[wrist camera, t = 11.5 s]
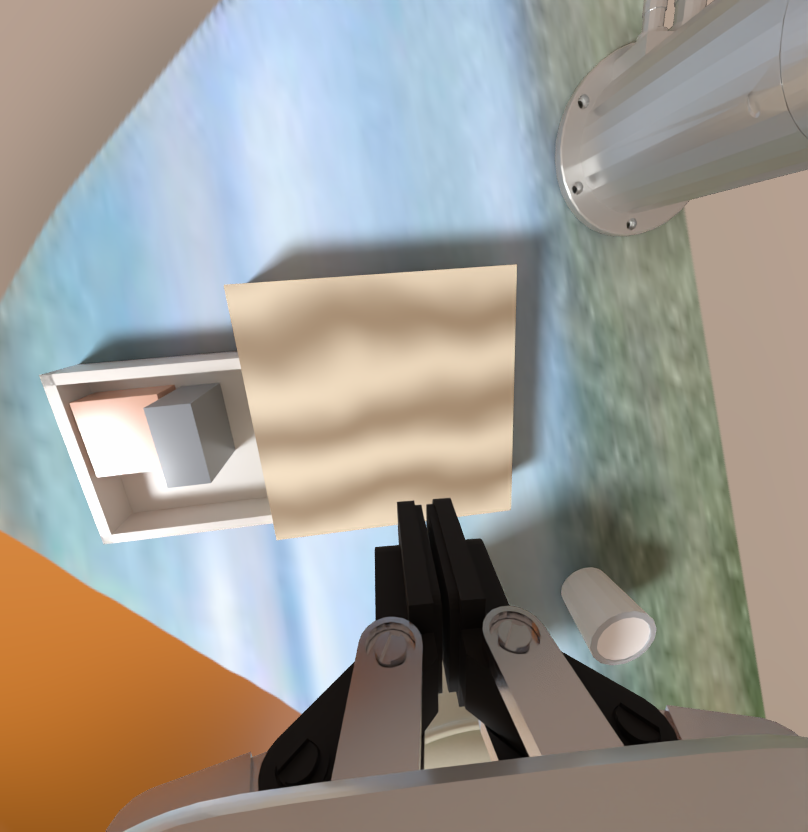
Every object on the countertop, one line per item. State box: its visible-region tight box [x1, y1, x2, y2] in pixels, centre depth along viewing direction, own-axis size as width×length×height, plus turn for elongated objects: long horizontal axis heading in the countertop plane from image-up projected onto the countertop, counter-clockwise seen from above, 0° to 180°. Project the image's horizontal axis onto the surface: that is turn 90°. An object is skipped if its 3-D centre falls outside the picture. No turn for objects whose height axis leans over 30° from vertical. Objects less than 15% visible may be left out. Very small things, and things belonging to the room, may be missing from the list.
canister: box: [425, 660, 492, 769], centre depth 33 cm, size 18×18×21 cm
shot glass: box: [561, 567, 656, 665], centre depth 41 cm, size 7×7×7 cm
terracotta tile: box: [69, 384, 176, 477], centre depth 30 cm, size 6×6×3 cm
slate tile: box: [143, 383, 236, 488], centre depth 30 cm, size 6×6×3 cm
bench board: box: [224, 264, 517, 540], centre depth 32 cm, size 20×20×5 cm
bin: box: [39, 351, 273, 544], centre depth 32 cm, size 14×14×4 cm
